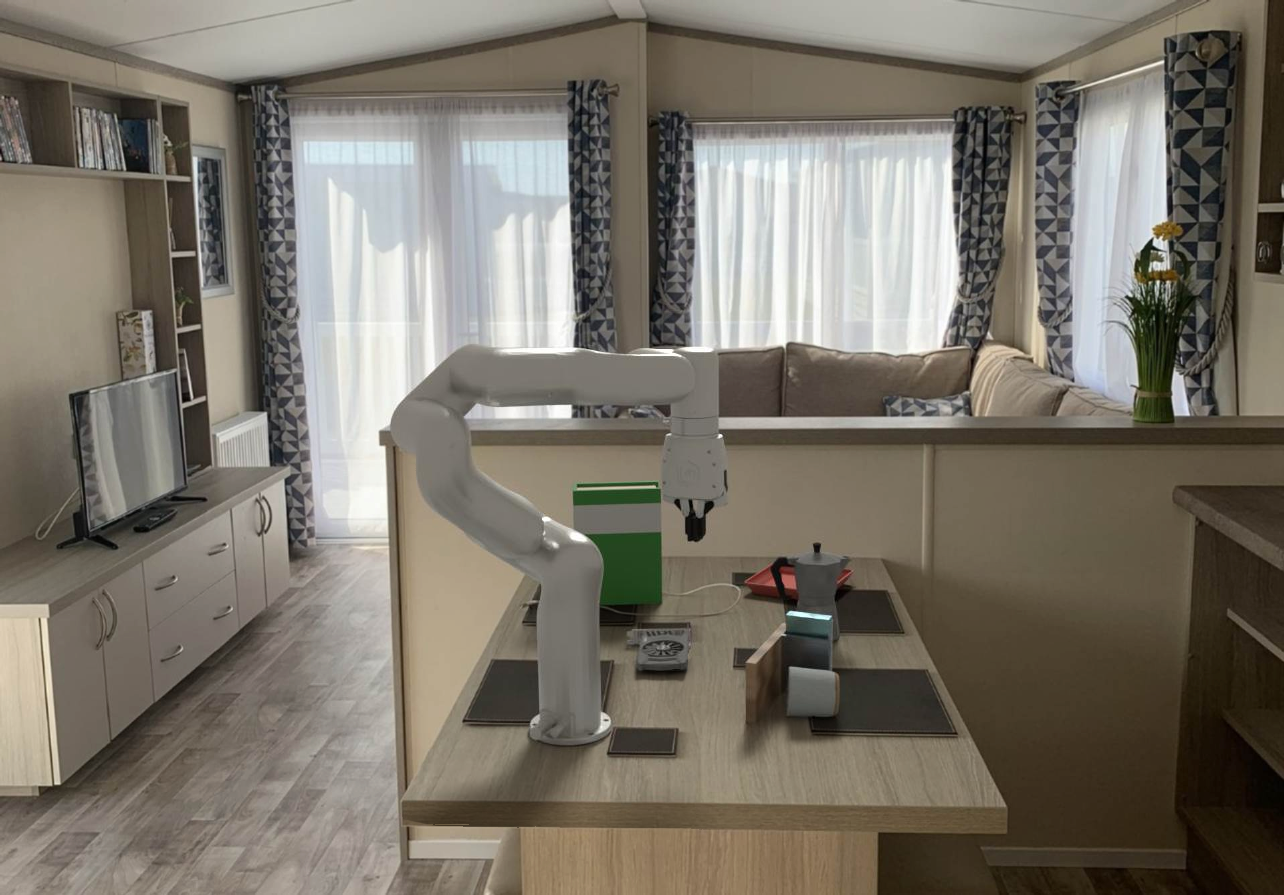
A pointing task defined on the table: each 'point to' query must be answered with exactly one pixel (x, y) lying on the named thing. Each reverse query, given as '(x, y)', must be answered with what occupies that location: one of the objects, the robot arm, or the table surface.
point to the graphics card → (661, 649)
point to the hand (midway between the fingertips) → (695, 539)
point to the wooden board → (764, 677)
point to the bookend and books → (806, 643)
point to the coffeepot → (813, 581)
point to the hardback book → (623, 537)
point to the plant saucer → (767, 586)
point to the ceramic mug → (812, 692)
